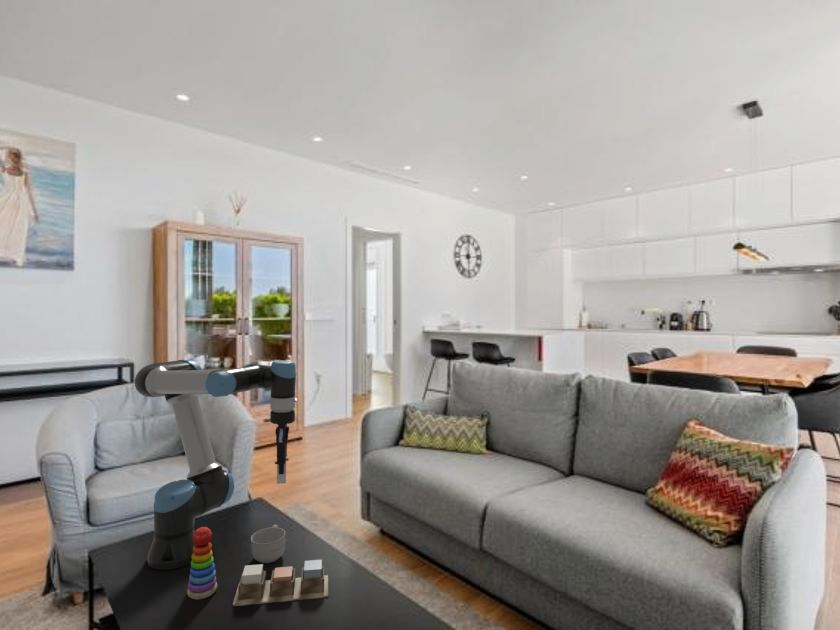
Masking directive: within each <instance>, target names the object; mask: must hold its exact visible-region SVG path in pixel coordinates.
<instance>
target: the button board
mask: <svg viewBox="0 0 840 630" xmlns="http://www.w3.org/2000/svg"><path fill="white" fill-rule="evenodd" d="M274 572H275V569H272V571H271V577H270V579H268V580H267V579H266V578H267V571H266V570H263V579H262V583H258V584H247V585H242V575H243V572H242V573H241V577H240V580H239V583H238V586H237V588H236V592H235V595H234V598H233V602H232V607H238V606H250V605H259V604H260V605H261V604H270V603H280V602H288V601H289V602H292V601H302V600H313V599H320V598H321V599H322V598H323V599H324V598H329V575H328V574H327V575H326V574H325V565H322V577H321V578H315V579H304V567H301V577H296V567H295V568H294V567H293V574H292V581H281V582H273V577H274Z"/></svg>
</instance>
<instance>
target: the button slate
mask: <svg viewBox="0 0 840 630" xmlns="http://www.w3.org/2000/svg"><path fill="white" fill-rule="evenodd" d="M322 562H323V559H312V560H311V559H310V560H304V567H303V568H304V579H315V578H321V577H322V566H323V565H322V564H323V563H322Z"/></svg>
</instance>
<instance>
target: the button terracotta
mask: <svg viewBox="0 0 840 630" xmlns="http://www.w3.org/2000/svg"><path fill="white" fill-rule="evenodd" d="M293 568H294V567H293V566H291V565H290V566H283V567H282V566H280V567H275V568H274V570H275V572H274V577H273V582H281V581H292V574H293Z"/></svg>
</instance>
